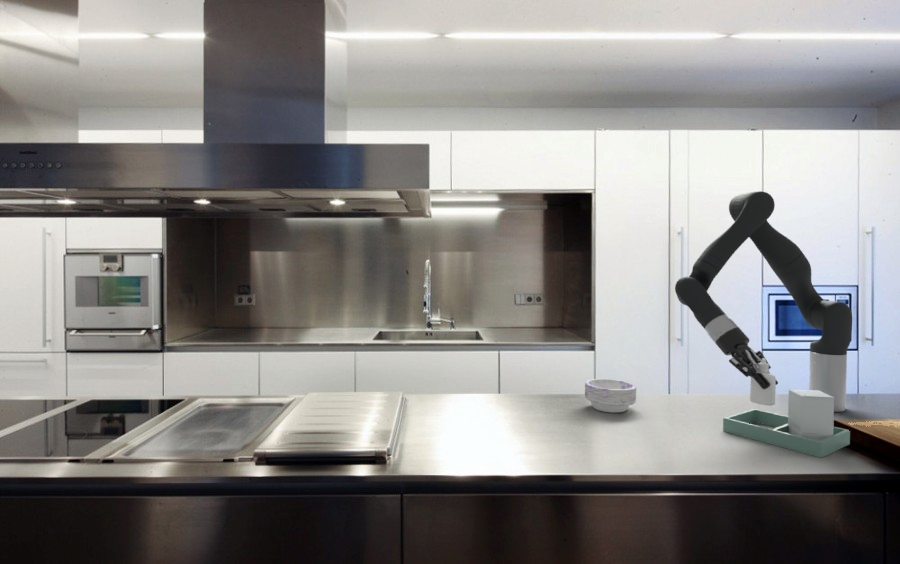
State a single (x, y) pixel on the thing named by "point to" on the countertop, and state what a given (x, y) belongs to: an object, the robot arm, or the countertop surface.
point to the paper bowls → (610, 394)
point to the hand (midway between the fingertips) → (771, 386)
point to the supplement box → (810, 414)
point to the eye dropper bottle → (761, 394)
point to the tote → (782, 433)
